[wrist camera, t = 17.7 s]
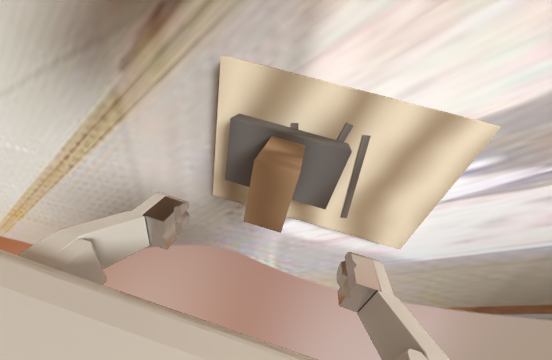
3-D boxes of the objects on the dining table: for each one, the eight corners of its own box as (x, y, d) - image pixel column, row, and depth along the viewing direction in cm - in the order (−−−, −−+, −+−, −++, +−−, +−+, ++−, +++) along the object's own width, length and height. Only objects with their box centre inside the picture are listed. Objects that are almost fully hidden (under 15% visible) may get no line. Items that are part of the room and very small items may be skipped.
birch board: (485, 122, 16) (502, 127, 14) (395, 239, 23) (400, 249, 22) (227, 56, 17) (220, 54, 15) (218, 188, 24) (212, 195, 23)
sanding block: (348, 143, 17) (364, 183, 11) (324, 197, 20) (327, 252, 14) (239, 113, 17) (197, 135, 11) (232, 170, 20) (197, 212, 15)
